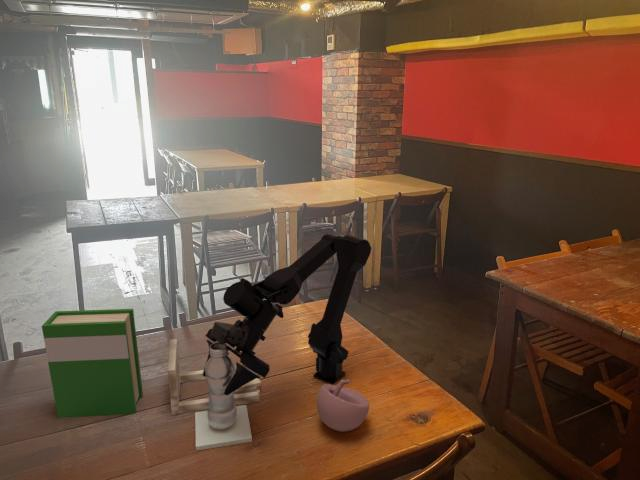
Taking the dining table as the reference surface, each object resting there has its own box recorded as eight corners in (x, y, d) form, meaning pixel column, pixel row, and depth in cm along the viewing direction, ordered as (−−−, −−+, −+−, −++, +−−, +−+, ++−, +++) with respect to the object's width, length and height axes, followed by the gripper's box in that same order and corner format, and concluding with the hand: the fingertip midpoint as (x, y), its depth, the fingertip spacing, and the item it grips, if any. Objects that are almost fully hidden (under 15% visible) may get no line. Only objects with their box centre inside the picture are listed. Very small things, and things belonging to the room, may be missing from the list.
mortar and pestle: (378, 425, 113) (381, 383, 110) (343, 451, 105) (344, 405, 102) (341, 402, 121) (342, 362, 118) (305, 424, 113) (305, 381, 110)
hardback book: (143, 395, 124) (133, 308, 116) (135, 413, 117) (124, 322, 109) (70, 398, 122) (55, 311, 115) (58, 418, 115) (41, 326, 108)
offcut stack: (257, 377, 132) (256, 367, 132) (262, 394, 125) (261, 384, 124) (231, 381, 131) (230, 371, 130) (234, 398, 123) (234, 388, 122)
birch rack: (252, 369, 135) (250, 330, 132) (259, 402, 121) (257, 359, 118) (174, 379, 130) (170, 339, 127) (171, 414, 116) (167, 370, 113)
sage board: (246, 408, 119) (246, 405, 119) (252, 441, 108) (251, 437, 108) (195, 415, 116) (195, 412, 116) (196, 450, 105) (195, 446, 105)
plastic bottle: (214, 413, 115) (209, 337, 110) (241, 417, 114) (238, 340, 108) (202, 431, 109) (197, 351, 103) (231, 435, 108) (227, 355, 102)
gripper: (210, 295, 113) (169, 354, 109) (256, 324, 99) (211, 391, 95) (241, 316, 120) (203, 372, 116) (287, 345, 106) (246, 409, 103)
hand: (214, 385), depth 107 cm, fingers open, 9 cm apart
